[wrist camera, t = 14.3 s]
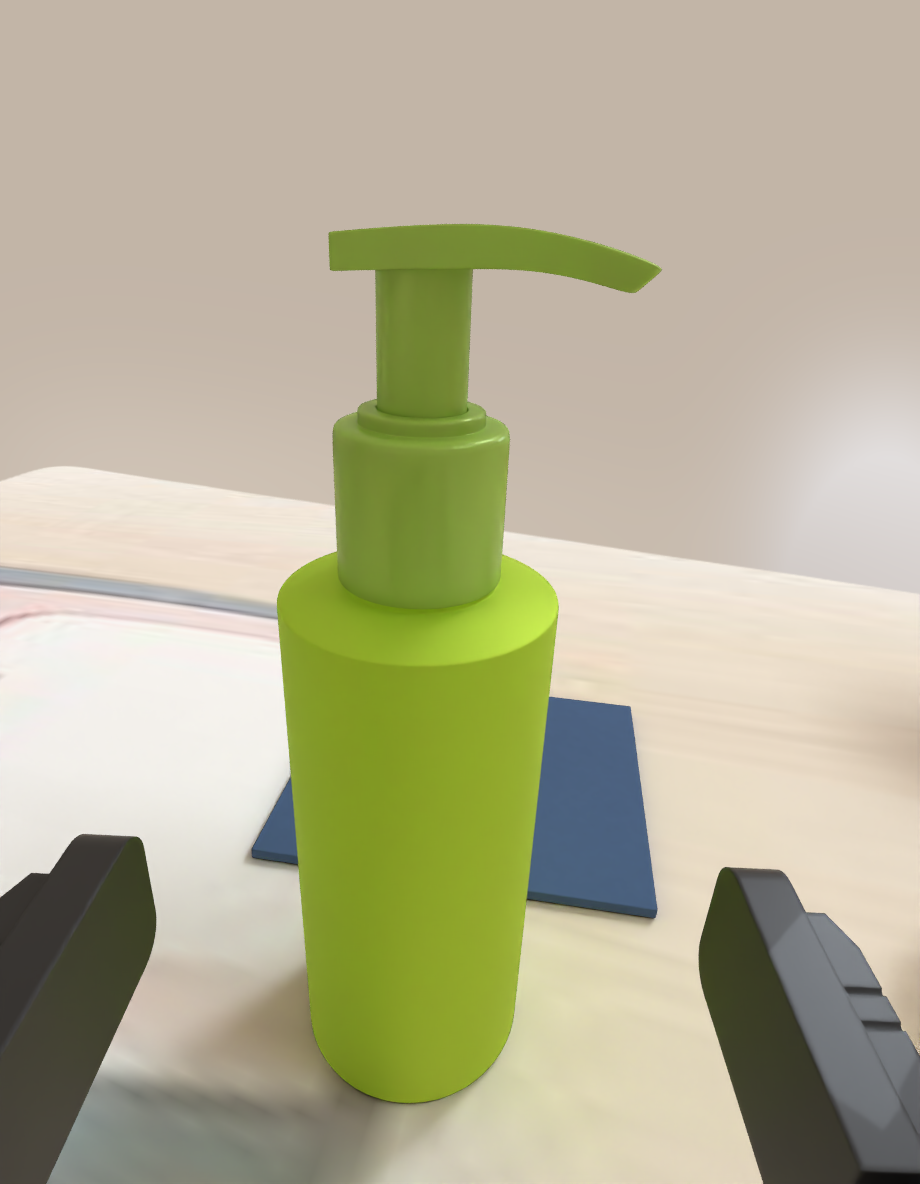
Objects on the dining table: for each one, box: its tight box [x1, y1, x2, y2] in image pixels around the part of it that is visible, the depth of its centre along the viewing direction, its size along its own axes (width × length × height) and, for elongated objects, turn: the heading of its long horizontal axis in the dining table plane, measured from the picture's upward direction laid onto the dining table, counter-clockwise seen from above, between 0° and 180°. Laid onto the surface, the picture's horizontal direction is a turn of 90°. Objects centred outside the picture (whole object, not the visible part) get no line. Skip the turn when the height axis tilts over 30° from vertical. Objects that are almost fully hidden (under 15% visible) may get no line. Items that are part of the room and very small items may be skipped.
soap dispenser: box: [277, 224, 662, 1103], centre depth 16 cm, size 6×7×20 cm
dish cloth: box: [252, 697, 657, 918], centre depth 30 cm, size 14×12×1 cm
